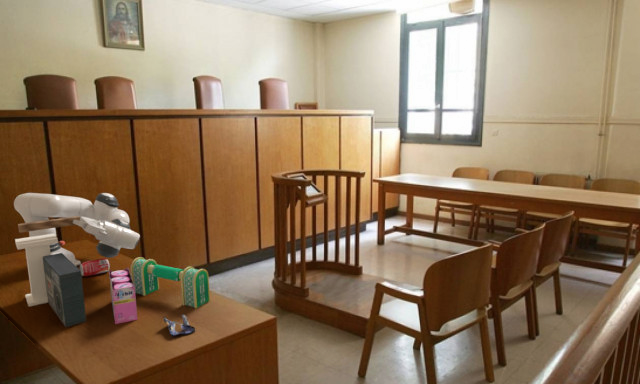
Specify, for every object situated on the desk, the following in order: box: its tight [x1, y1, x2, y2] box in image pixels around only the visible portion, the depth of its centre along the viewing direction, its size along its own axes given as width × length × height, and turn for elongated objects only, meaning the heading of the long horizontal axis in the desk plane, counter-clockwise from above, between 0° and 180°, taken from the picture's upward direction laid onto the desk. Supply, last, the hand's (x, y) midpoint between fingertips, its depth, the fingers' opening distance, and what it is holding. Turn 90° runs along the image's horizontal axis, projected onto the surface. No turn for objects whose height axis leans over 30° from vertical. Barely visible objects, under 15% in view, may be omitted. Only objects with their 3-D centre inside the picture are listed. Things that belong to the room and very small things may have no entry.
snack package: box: [162, 313, 196, 337], centre depth 161 cm, size 12×6×12 cm
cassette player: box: [43, 253, 87, 328], centre depth 176 cm, size 29×7×20 cm, turn 42°
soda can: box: [79, 257, 111, 277], centre depth 218 cm, size 7×7×12 cm
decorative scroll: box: [129, 256, 211, 309], centre depth 189 cm, size 36×8×15 cm, turn 63°
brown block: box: [17, 216, 80, 234], centre depth 188 cm, size 22×3×3 cm, turn 128°
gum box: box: [108, 267, 138, 325], centre depth 177 cm, size 24×8×14 cm, turn 28°
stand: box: [14, 234, 59, 307], centre depth 188 cm, size 14×12×26 cm
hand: (72, 220), depth 193 cm, fingers closed on brown block, 3 cm apart
